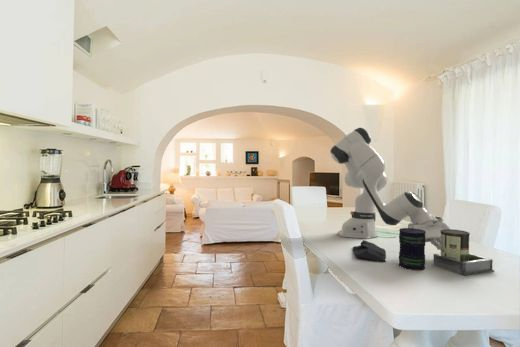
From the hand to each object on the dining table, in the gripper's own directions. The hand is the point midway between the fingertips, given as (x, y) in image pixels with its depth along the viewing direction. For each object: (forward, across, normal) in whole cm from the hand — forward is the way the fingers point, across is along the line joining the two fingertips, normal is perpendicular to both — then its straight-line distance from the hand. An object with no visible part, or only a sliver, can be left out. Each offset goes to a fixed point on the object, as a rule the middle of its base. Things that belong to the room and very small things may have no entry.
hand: (442, 248), depth 134 cm
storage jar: (+5, -18, +3) cm, 19 cm away
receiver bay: (+10, 0, -2) cm, 10 cm away
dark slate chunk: (-9, -24, +18) cm, 31 cm away
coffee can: (+8, 0, 0) cm, 8 cm away
